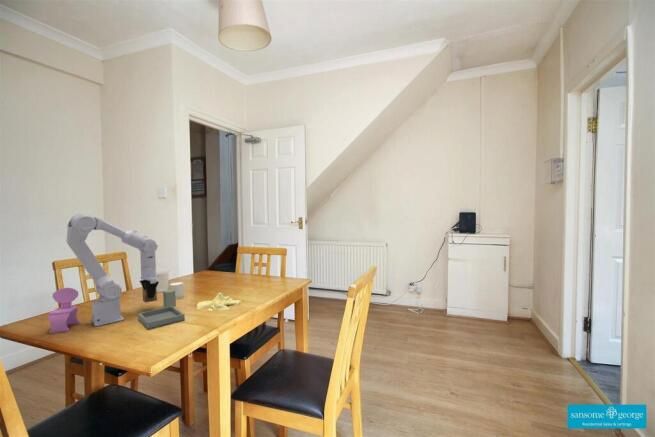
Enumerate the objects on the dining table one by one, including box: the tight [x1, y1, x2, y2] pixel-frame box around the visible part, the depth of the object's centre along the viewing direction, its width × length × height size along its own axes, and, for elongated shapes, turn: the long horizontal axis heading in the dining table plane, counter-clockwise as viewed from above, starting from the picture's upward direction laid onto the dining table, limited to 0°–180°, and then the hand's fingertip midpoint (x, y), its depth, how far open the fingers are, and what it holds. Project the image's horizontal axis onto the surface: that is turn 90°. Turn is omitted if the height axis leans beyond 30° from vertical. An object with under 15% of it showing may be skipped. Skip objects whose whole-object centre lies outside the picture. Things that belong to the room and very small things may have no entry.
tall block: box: [162, 289, 177, 308], centre depth 145 cm, size 4×4×7 cm
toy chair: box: [48, 287, 81, 334], centre depth 120 cm, size 8×9×15 cm
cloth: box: [196, 292, 242, 312], centre depth 144 cm, size 22×19×6 cm
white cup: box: [156, 270, 169, 293], centre depth 171 cm, size 8×8×10 cm
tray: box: [137, 306, 185, 330], centre depth 127 cm, size 13×15×2 cm
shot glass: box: [168, 281, 185, 300], centre depth 158 cm, size 7×7×7 cm
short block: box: [141, 288, 158, 303], centre depth 139 cm, size 4×4×5 cm
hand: (149, 296), depth 139 cm, fingers closed on short block, 4 cm apart
